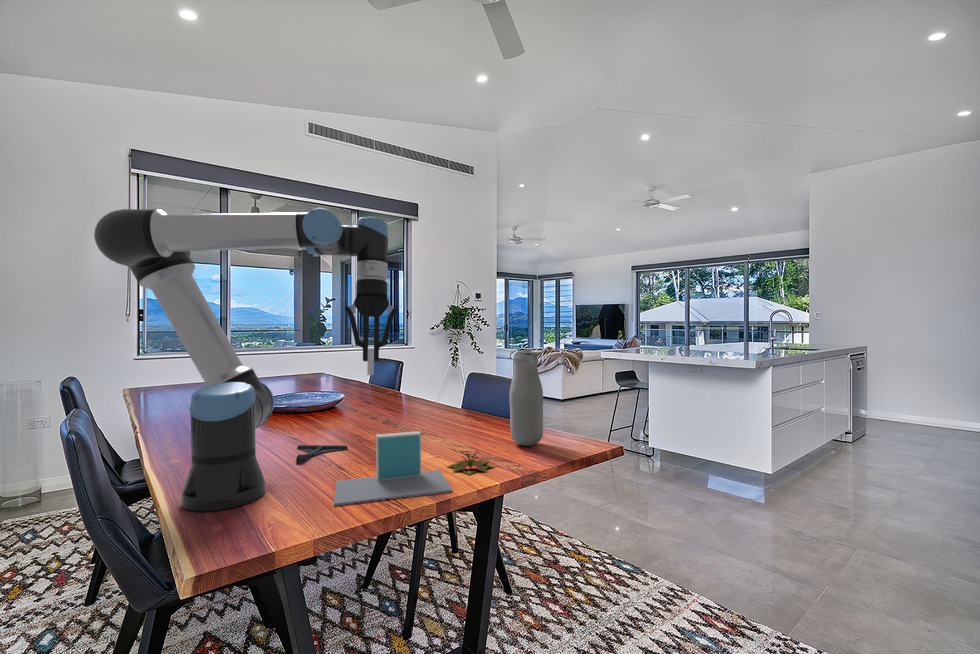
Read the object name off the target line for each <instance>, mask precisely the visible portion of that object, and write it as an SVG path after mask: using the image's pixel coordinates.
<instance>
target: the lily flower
mask: <svg viewBox="0 0 980 654" xmlns="http://www.w3.org/2000/svg"><path fill="white" fill-rule="evenodd" d="M470 450H471V451H472V449H470ZM463 452H464V453H465V454H464V455H465V456H463V455H461V458H463V460H460V461H456V463H454V464H449V465H446V467H448V468H454V469H453V470H452V473H454V472H458V471H461V470H462V472H463V473H465V474H467V476H469V475H472V474H474V473H475V472H478V470H479V471H481V472H484V473H487V468H486V467H490V468H495V466H494V465H491V464H486V463H488V462H487V461H483V460H477V459H479V456H478V457H477V454H479V453H480V451H478V449H477V450H475V452H474V453H473V455H470V453H469V451H468V450H466V451H463ZM465 457H466V458H467V459H466V458H465ZM475 466H476V467H477V468H476V469H474V470H475V471H473V470H471V471H472V472H471V471H469V470H468V469H467V467H469V468H470V467H475ZM490 468H489V469H490ZM465 469H466V470H465ZM468 471H469V472H470V473H469V472H468Z"/></svg>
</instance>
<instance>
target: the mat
mask: <svg viewBox="0 0 980 654" xmlns="http://www.w3.org/2000/svg"><path fill="white" fill-rule="evenodd" d="M334 487H335V489H334V498H333V506H334V507H337V506H338V507H339V506H346V504H348V505H353V504H354V503H356V504H362V502H365V503H371V502H370V501H373V502H379V501H378V500H381V501H387V500H386V499H390V500H395V499H394V498H398V499H403V498H402V497H407V498H414V496H415V497H423V496H422V495H424V496H430V495H439V494H448V493H452V492H453V489H452V487H451V485H450V484H449V483H448V481H447V479H446V477H445V476H444V474H443V472H442V471H441V469H435V470H426V471H425V470H424V471H421V476H419V477H409V478H400V479H390V480H381V481H377V475H376V476H369V477H368V476H367V477H359V478H349V479H337V480H335V486H334ZM354 505H355V504H354Z"/></svg>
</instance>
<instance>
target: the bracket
mask: <svg viewBox="0 0 980 654" xmlns="http://www.w3.org/2000/svg"><path fill="white" fill-rule="evenodd" d="M348 448H349V446H348V445H344V444H343V445H339V444H338V445H337V444H336V445H334V444H333V445H332V444H331V445H329V444H328V445H325V444H324V445H323V444H320V445H319V444H299V445H297V448H296V450H297V449H299V450H298V451H301V450H304V451H303V452H305V451H306V452H305V453H306V454H297V456H296V460H295V464H297V465H302V464H303V463H304V461H305V462H306V461H308V460H310V459H311V458H313V457H315V456H319V455H323V454H327V452H328V453H333V452H334V453H335V452H341V451H346V450H348ZM313 449H315V450H313ZM322 450H323V451H322ZM322 453H323V454H322ZM312 456H313V457H312ZM310 457H311V458H310ZM309 458H310V459H309ZM307 459H308V460H307ZM302 462H303V463H302ZM301 463H302V464H301Z"/></svg>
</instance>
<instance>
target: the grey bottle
mask: <svg viewBox="0 0 980 654" xmlns="http://www.w3.org/2000/svg"><path fill="white" fill-rule="evenodd" d="M512 361H513V375H512V378H511V382H510V385H509V387H510V388H509V396H508V397H509V398H508V400H509V418H510V419H509V420H510V422H509V425H510V436H511V439H512V440H513V442H514V443H515V444H517V445H519V446H523V447H524V446H525V447H532V446H535V445H538V444H539V442H541V440H542V438H543V437H544V390H543V384H542V381H541V378H540V374H539V369H538V364H539V360H538V353H536V352H535V351H532V350H530V349H529V350H526V349H525V350H524V349H523V350H518V351H516V352H515V353H514V354H513V360H512Z"/></svg>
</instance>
